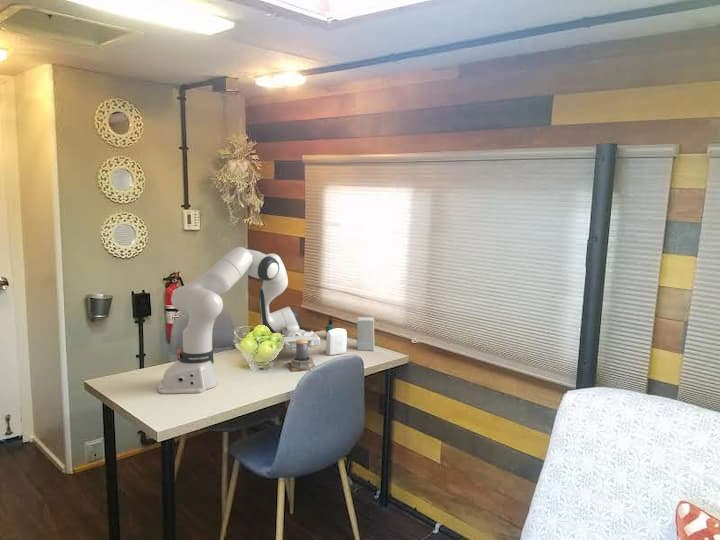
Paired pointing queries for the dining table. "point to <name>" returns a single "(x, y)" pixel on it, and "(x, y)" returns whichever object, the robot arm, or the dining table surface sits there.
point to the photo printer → (336, 341)
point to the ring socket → (301, 364)
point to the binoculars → (329, 326)
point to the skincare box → (365, 333)
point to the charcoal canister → (301, 350)
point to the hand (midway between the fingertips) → (300, 346)
